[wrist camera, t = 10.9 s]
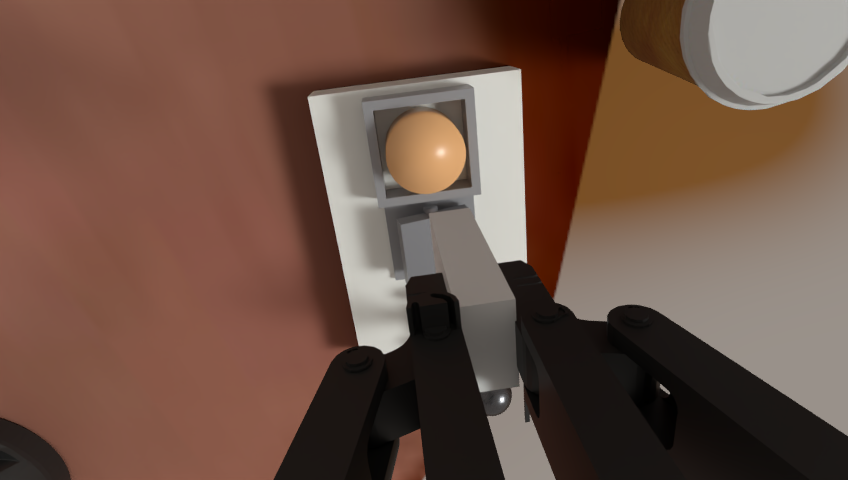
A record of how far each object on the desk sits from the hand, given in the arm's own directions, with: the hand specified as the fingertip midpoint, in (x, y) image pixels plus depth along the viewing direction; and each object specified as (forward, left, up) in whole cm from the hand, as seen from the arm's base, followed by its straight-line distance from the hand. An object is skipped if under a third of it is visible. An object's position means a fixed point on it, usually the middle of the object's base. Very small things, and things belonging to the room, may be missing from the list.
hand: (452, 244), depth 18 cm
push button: (0, 0, -16) cm, 16 cm away
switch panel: (0, -7, -20) cm, 21 cm away
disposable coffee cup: (+18, +6, -20) cm, 28 cm away
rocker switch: (0, -7, -15) cm, 17 cm away
